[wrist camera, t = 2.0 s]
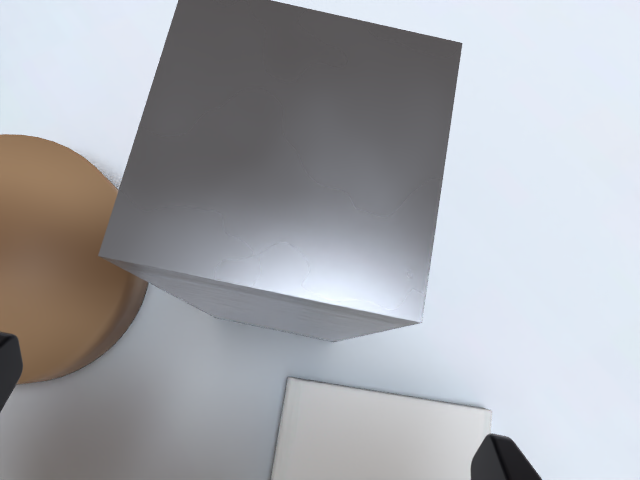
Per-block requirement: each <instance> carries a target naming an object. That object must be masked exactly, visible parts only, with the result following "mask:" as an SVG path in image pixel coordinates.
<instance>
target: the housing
mask: <svg viewBox="0 0 640 480" xmlns="http://www.w3.org/2000/svg"><path fill="white" fill-rule="evenodd" d="M461 49H462V43H460V42H455V41H451V40H446V39H442V38H437V37H433V36H428V35H424V34H419V33H415V32H410V31H406V30H401V29H397V28H392V27H388V26H383V25H379V24H374V23H370V22H365V21H361V20H357V19H352V18H348V17H343V16H339V15H334V14H330V13H325V12H321V11H316V10H312V9H307V8H303V7H298V6H294V5H289V4H285V3H280V2H276V1H271V0H178V4H177V7H176V10H175V13H174V16H173V19H172V23H171V26H170V29H169V32H168V35H167V38H166V42H165V45H164V48H163V51H162V54H161V58H160V61H159V64H158V67H157V70H156V73H155V77H154V80H153V83H152V86H151V89H150V92H149V96H148V99H147V102H146V105H145V108H144V112H143V115H142V118H141V121H140V124H139V127H138V131H137V134H136V137H135V140H134V143H133V146H132V150H131V153H130V156H129V159H128V162H127V166H126V169H125V172H124V175H123V178H122V181H121V185H120V188H119V191H118V194H117V197H116V200H115V204H114V207H113V210H112V213H111V216H110V220H109V223H108V226H107V229H106V232H105V235H104V239H103V242H102V245H101V248H100V251H99V254H98V256H99V257H101V258H103V259H105V260H107V261H109V262H111V263H113V264H114V265H116V266H118V267H120V268H122V269H124V270H126V271H128V272H130V273H132V274H133V275H135V276H137V277H139V278H141V279H143V280H145V281H147V282H149V283H151V284H152V285H154V286H156V287H158V288H160V289H162V290H164V291H166V292H168V293H170V294H171V295H173V296H175V297H177V298H179V299H181V300H183V301H185V302H187V303H189V304H190V305H192V306H194V307H196V308H198V309H200V310H202V311H204V312H206V313H208V314H209V315H211V316H213V317H215V318H220V319H224V320H229V321H234V322H239V323H244V324H249V325H254V326H259V327H264V328H269V329H273V330H278V331H283V332H288V333H293V334H298V335H303V336H308V337H313V338H317V339H322V340H327V341H332V342H337V341H341V340H346V339H350V338H355V337H359V336H364V335H368V334H373V333H377V332H382V331H387V330H391V329H396V328H400V327H405V326H409V325H414V324H418V323H422V318H423V311H424V304H425V297H426V290H427V283H428V276H429V270H430V263H431V256H432V249H433V242H434V235H435V228H436V221H437V214H438V207H439V201H440V194H441V187H442V180H443V173H444V166H445V159H446V152H447V145H448V138H449V131H450V125H451V118H452V111H453V104H454V97H455V90H456V83H457V76H458V69H459V62H460V56H461Z"/></svg>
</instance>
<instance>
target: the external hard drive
mask: <svg viewBox="0 0 640 480" xmlns="http://www.w3.org/2000/svg"><path fill="white" fill-rule="evenodd" d="M491 420H492V411H491V410H488V409H485V408H480V407H473V406H467V405H460V404H454V403H448V402H441V401H435V400H429V399H423V398H417V397H411V396H404V395H398V394H392V393H386V392H380V391H373V390H367V389H361V388H355V387H349V386H343V385H336V384H330V383H324V382H318V381H312V380H306V379H300V378H294V377H288V378H287V384H286V391H285V397H284V403H283V409H282V415H281V420H280V427H279V433H278V439H277V445H276V451H275V457H274V464H273V470H272V476H271V480H471V470H470V469H471V462H472V459H473V456H474V455H475V453H476V451H477V450H478V448H479V446H480V445H481V443H482V441H483V440H484V438H485V437H486V435H488V434H491Z"/></svg>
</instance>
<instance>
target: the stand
mask: <svg viewBox="0 0 640 480" xmlns="http://www.w3.org/2000/svg"><path fill="white" fill-rule="evenodd" d="M118 191H119V190H118V189H117V188H116V187H115V186H114V185H113V184H112V183H111V182H110V181H109V180H108V179H107V178H106V177H105V176H104V175H103V174H102V173H101V172H100V171H99V170H98V169H97V168H96V167H95V166H94V165H93V164H91V163H90V162H89V161H88V160H86V159H85V158H84V157H82V156H81V155H79V154H78V153H76V152H74V151H73V150H71V149H69V148H67V147H65V146H63V145H60V144H58V143H55V142H53V141H49V140H46V139H42V138H39V137H32V136H26V135H8V134H4V135H0V331H1V332H6V333H11V334H14V335H16V336H17V338H18V340H19V345H20V350H21V355H22V361H23V370H22V374H21V376H20V378H19V380H18V382H17V384H25V383H33V382H41V381H47V380H51V379H55V378H58V377H62V376H65V375H67V374H70V373H72V372H75V371H77V370H79V369H81V368H82V367H84V366H86V365H88V364H90V363H91V362H93V361H94V360H96V359H97V358H98V357H100V356H101V355H103V354H104V353H105V352H106V351H107V350H108V349H110V348H111V347H112V346H113V345H114V344H115V343H116V342H117V341H118V340H119V339H120V337H121V336H122V335H123V334H124V333H125V332H126V330H127V329H128V327H129V326H130V324H131V323H132V321H133V320H134V318H135V316H136V315H137V313H138V311H139V309H140V307H141V305H142V302H143V299H144V296H145V293H146V290H147V286H148V282H147V281H145V280H143V279H141V278H139V277H137V276H135V275H133V274H132V273H130V272H128V271H126V270H124V269H122V268H120V267H118V266H116V265H114V264H113V263H111V262H109V261H107V260H105V259H103V258H101V257H99V256H98V254H99V251H100V248H101V245H102V242H103V239H104V235H105V232H106V229H107V226H108V223H109V220H110V216H111V213H112V210H113V207H114V204H115V200H116V197H117V194H118ZM17 384H16V385H17Z"/></svg>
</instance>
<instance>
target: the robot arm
mask: <svg viewBox="0 0 640 480" xmlns="http://www.w3.org/2000/svg"><path fill="white" fill-rule="evenodd" d="M22 370H23V361H22V355H21V350H20V345H19V340H18V338H17V336H16V335H14V334H11V333H6V332H1V331H0V412H1V410H2V408H3V407H4V405H5V403H6V401H7V400H8V398H9V396H10V394H11V393H12V391H13V389H14V387H15V386H16V384H17V382H18V380H19V378H20V376H21V374H22ZM470 470H471V480H542V479H541V477H540V476H539V475H538V473H537V472H536V471H535V469H534V468H533V467H532V465H531V464H530V463H529V461H528V460H527V459H526V457H525V456H524V455H523V453H522V452H521V451H520V449H519V448H518V447H517V445H516V444H515V443H514V441H513V440H512V439H510V438H509V437H506V436H502V435H497V434H488V435H486V437H485V438H484V440H483V441H482V443H481V445H480V446H479V448H478V450H477V451H476V453H475V455H474V456H473V459H472V462H471V469H470Z"/></svg>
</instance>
